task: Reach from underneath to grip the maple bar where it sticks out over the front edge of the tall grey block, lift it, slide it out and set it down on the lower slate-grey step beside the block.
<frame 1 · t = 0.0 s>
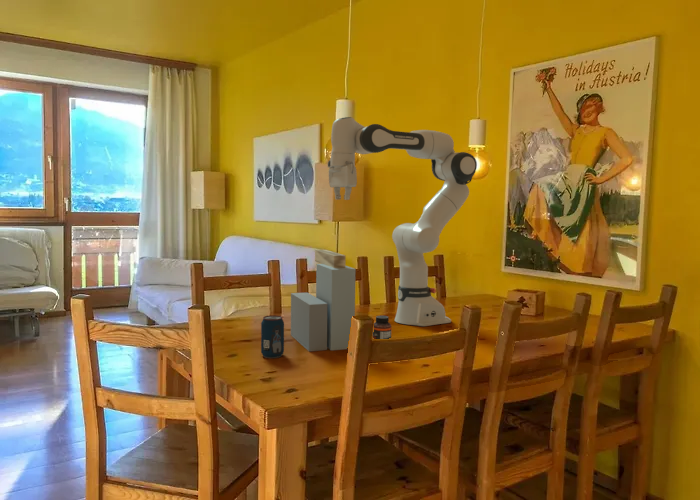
hand: (342, 199, 206), 48 cm above the table, tool pointing down, fingers open, 8 cm apart
step: (307, 342, 187), on the table
supplement bottle: (381, 352, 177), on the table
bar: (329, 264, 190), point 26 cm above the table, touching grey tall block
grey tall block: (334, 343, 186), on the table
soda can: (272, 356, 171), on the table
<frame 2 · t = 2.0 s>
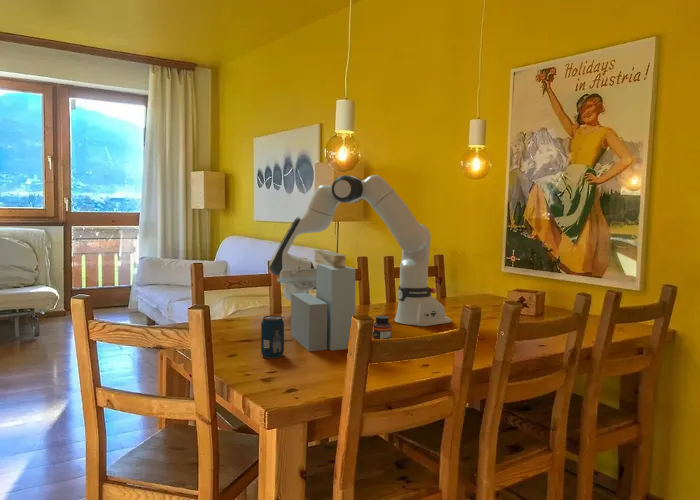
hand: (310, 268, 209), 22 cm above the table, tool pointing upward, fingers open, 8 cm apart
nothing on the table moved.
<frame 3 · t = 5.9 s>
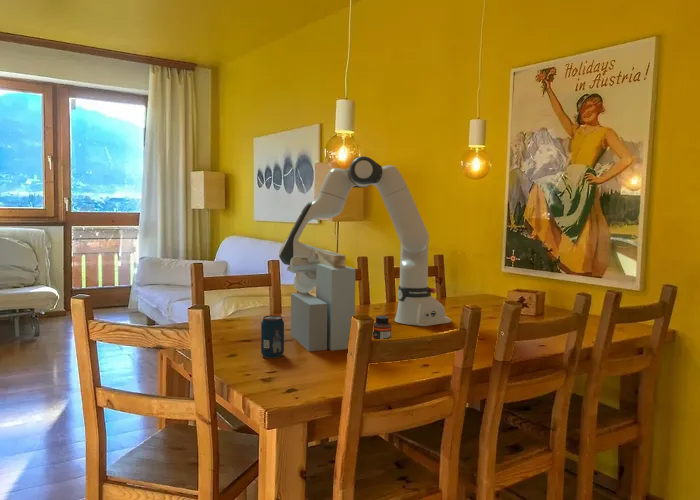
hand: (323, 255, 196), 28 cm above the table, tool pointing upward, fingers closed on bar, 4 cm apart
bar: (329, 264, 190), point 26 cm above the table, touching gripper, grey tall block
everything else where it was.
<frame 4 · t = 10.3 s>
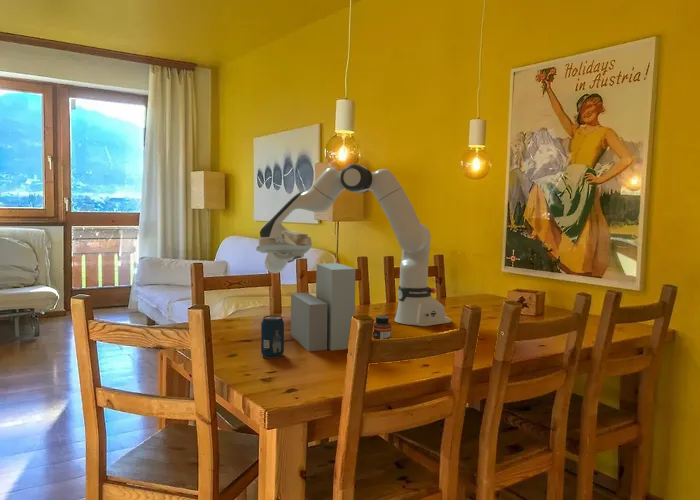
hand: (289, 235, 207), 34 cm above the table, tool pointing upward, fingers closed on bar, 4 cm apart
bar: (294, 243, 201), point 32 cm above the table, touching gripper
everything else where it was.
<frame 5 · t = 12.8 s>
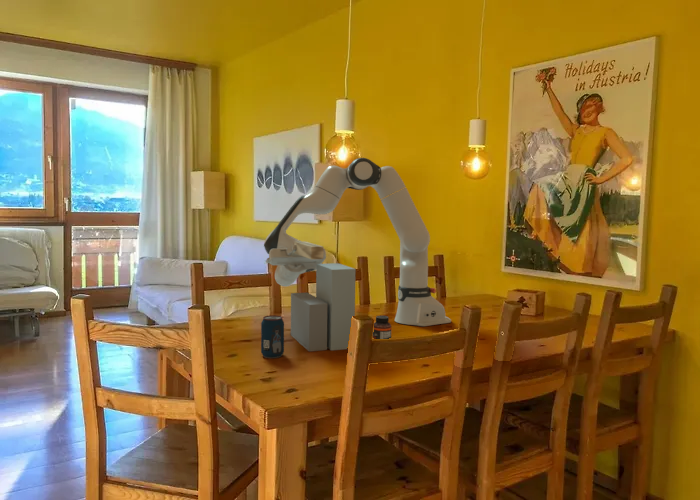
hand: (302, 246, 191), 32 cm above the table, tool pointing upward, fingers closed on bar, 4 cm apart
bar: (308, 255, 185), point 29 cm above the table, touching gripper
everything else where it was.
when the fingers open (20 cm above the table, at t = 15.1 s): bar drops 3 cm, resting on step.
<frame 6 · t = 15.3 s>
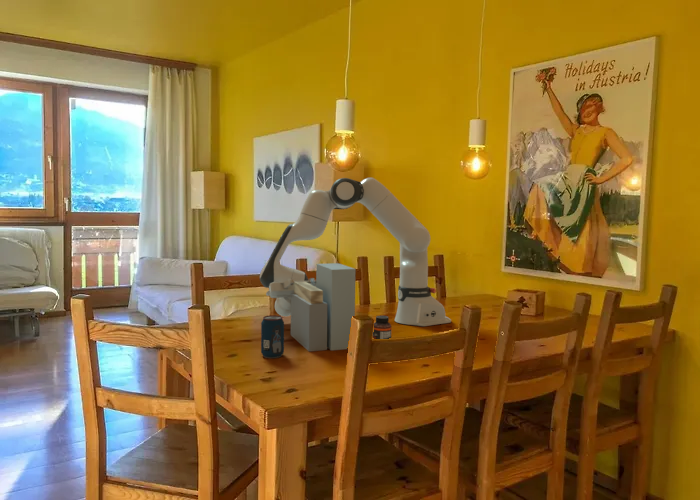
hand: (302, 280, 192), 20 cm above the table, tool pointing upward, fingers open, 6 cm apart
bar: (307, 297, 186), point 15 cm above the table, touching step
everything else where it was.
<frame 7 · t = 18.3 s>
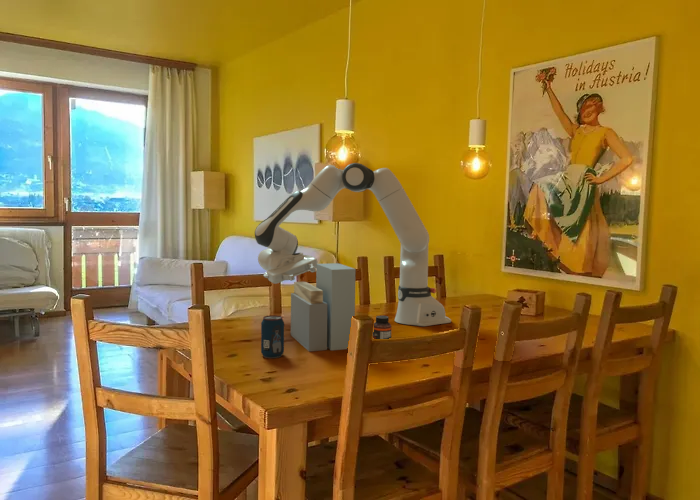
hand: (303, 274, 206), 20 cm above the table, tool horizontal, fingers open, 8 cm apart
nothing on the table moved.
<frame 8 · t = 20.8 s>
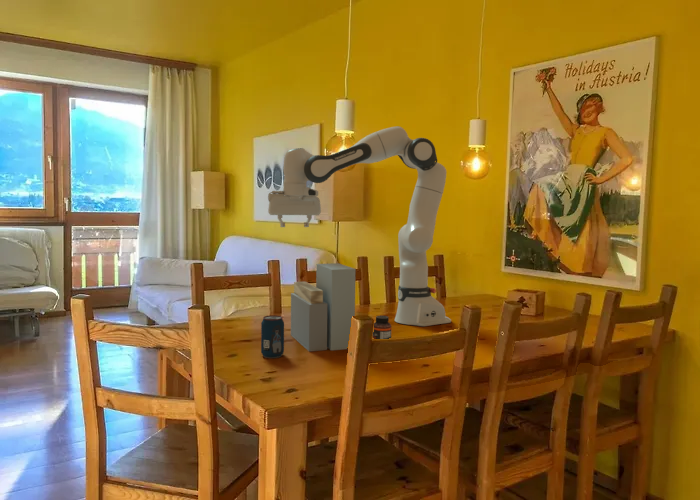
hand: (294, 227, 215), 37 cm above the table, tool pointing down, fingers open, 8 cm apart
nothing on the table moved.
at the end: bar inside the target area on the step (0.2 cm from its centre), point 15.0 cm above the step's base; bar touching step; the gripper is holding nothing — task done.
